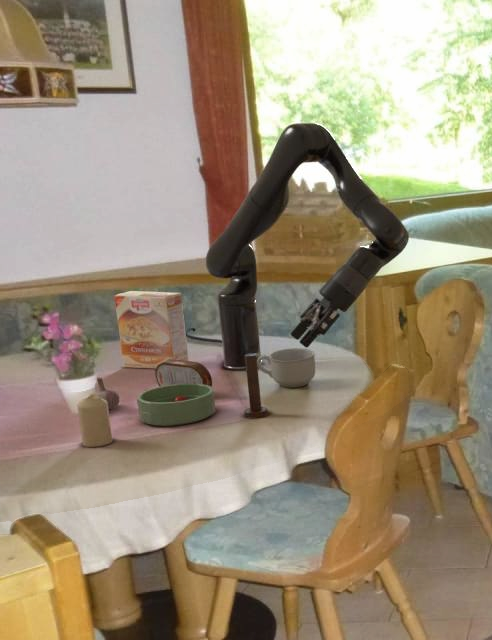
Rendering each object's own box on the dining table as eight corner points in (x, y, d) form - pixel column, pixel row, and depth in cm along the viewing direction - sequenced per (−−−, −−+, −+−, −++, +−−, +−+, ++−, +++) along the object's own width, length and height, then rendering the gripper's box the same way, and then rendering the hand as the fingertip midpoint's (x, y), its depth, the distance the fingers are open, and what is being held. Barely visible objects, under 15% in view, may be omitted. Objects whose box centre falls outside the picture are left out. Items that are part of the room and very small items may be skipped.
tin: (214, 396, 244) (211, 362, 242) (205, 399, 242) (201, 365, 239) (165, 390, 249) (160, 356, 247) (155, 393, 246) (150, 360, 244)
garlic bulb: (104, 416, 229) (100, 382, 227) (78, 413, 231) (73, 379, 229) (129, 406, 236) (125, 373, 234) (103, 404, 238) (98, 371, 236)
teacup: (324, 379, 259) (321, 348, 257) (306, 391, 249) (303, 359, 247) (271, 377, 260) (268, 347, 258) (251, 389, 250) (248, 357, 248)
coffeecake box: (122, 367, 270) (112, 295, 265) (139, 360, 276) (130, 290, 271) (174, 370, 267) (165, 297, 262) (190, 363, 274) (181, 291, 269)
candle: (89, 438, 214) (83, 393, 212) (116, 438, 215) (110, 392, 212) (78, 447, 209) (71, 401, 206) (106, 446, 209) (99, 400, 207)
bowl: (129, 416, 229) (126, 393, 228) (198, 402, 240) (195, 379, 238) (156, 432, 218) (153, 407, 217) (227, 416, 229) (225, 392, 228)
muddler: (240, 415, 230) (234, 355, 227) (260, 410, 234) (255, 351, 230) (252, 419, 227) (245, 358, 223) (272, 414, 231) (266, 354, 227)
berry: (176, 406, 234) (180, 395, 234) (187, 410, 234) (191, 398, 234) (169, 406, 231) (173, 394, 232) (180, 409, 231) (184, 398, 231)
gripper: (324, 272, 239) (277, 325, 236) (341, 281, 227) (292, 337, 224) (348, 292, 243) (303, 344, 240) (366, 302, 231) (319, 357, 229)
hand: (298, 341), depth 232 cm, fingers open, 8 cm apart
